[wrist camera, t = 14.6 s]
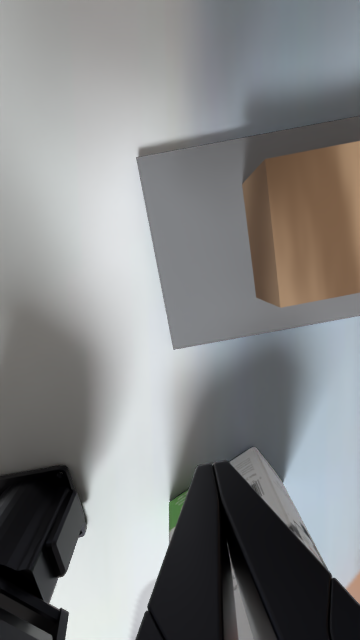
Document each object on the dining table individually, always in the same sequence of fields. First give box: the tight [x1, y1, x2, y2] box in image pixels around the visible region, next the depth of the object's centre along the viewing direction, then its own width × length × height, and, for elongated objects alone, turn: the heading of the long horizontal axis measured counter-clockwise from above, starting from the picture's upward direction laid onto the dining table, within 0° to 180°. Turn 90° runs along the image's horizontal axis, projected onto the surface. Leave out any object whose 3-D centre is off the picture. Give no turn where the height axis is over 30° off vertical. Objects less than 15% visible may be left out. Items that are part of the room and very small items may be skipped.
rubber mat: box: [136, 116, 360, 350], centre depth 17 cm, size 14×12×1 cm
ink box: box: [169, 447, 328, 640], centre depth 16 cm, size 9×5×12 cm, turn 127°
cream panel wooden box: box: [242, 141, 360, 308], centre depth 15 cm, size 4×7×8 cm
